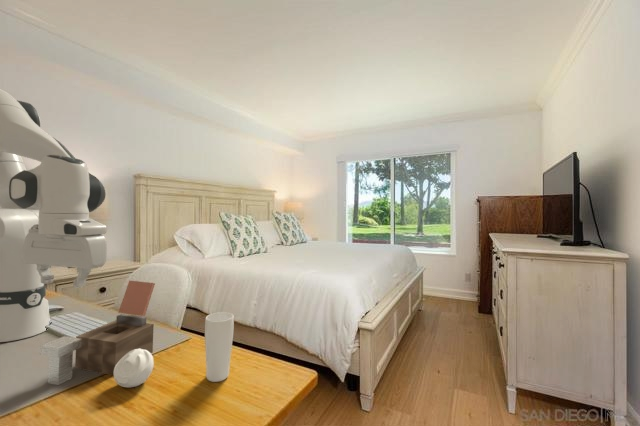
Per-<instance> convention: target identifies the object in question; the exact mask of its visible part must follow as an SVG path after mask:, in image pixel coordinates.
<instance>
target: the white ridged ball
mask: <svg viewBox="0 0 640 426" xmlns="http://www.w3.org/2000/svg"><path fill="white" fill-rule="evenodd" d="M154 365H155V364H154V355H152V353H150V352H149V351H147V350H144V349H140V348H139V349H134V350H132V351H130V352H128V353H127V354H126V355H125V356H123V357H122V358H121V359H120V360H119V362H118V363H117V364H116V366H115V368H114V372H113V374H114V375H113V378H114V381H115V382H116V384H117V385H119V386H120V387H123V388H126V389H127V388H134V387H138V386H140V385H141V384H143V383H145V382H146V381H147V380H148V379H149V377H150V375H151V374H152V372H153V370H154Z"/></svg>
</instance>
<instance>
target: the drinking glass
mask: <svg viewBox="0 0 640 426" xmlns="http://www.w3.org/2000/svg"><path fill="white" fill-rule="evenodd" d="M234 323H235V317H234V313H231V312H228V311H227V312H226V311H218V312H213V313H210V314H208V315H206V316H205V322H204V347H205V363H206V365H205V367H206V368H205V369H206V372H205V376H206V377H205V378H206V379H207V380H208V381H209V382H212V383H218V382H223V381H225V380H227V378H229V375H230V366H231V364H230V363H231V355H232V346H233V339H234V330H235V329H234V327H235V324H234Z"/></svg>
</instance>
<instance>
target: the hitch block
mask: <svg viewBox="0 0 640 426" xmlns="http://www.w3.org/2000/svg"><path fill="white" fill-rule="evenodd" d="M75 338H79V339H82V342H81V348H78V349H76V350H75V367H74V368H75V369H79V370H86V371H88V372H89V371H90V372H95V373H101V374H106V375H113V376H114V374H113V372H114V368H115V366H116V364H117V363H118V362H119V360H120V359H121V358H122V357H123V356H125V355H126V354H127V353H128V352H130V351H132V350H134V349H139V348H140V349H144V350H147V351H149V352H150V353H151V354H152V353H153V351H154V323H150V322H149V323H148V322H147V316H141V315H134V314H126V313H120V314H118V315H116V319H115V320H114V321H111V322H109V323H108V322H107V323H106V324H103V325H100V326H99V327H96V328H94V329H91V330H89V331H86V332H84V333H83V332H82V333H81V334H79V335H76V336H75Z"/></svg>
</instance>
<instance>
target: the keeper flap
mask: <svg viewBox="0 0 640 426" xmlns="http://www.w3.org/2000/svg"><path fill="white" fill-rule="evenodd" d="M155 285H156V283H155V282H149V281H148V282H146V281H138V280H129V281H128V282H127V286H126V290H125V291H124V295H123V298H122V300H121V304H120V307H119V310H118V313H120V314H125V315H133V316H140V317H146V314H147V310H148V307H149V305H150V304H149V303H150V301H151V297H152V294H153V291H154V288H155Z"/></svg>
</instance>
